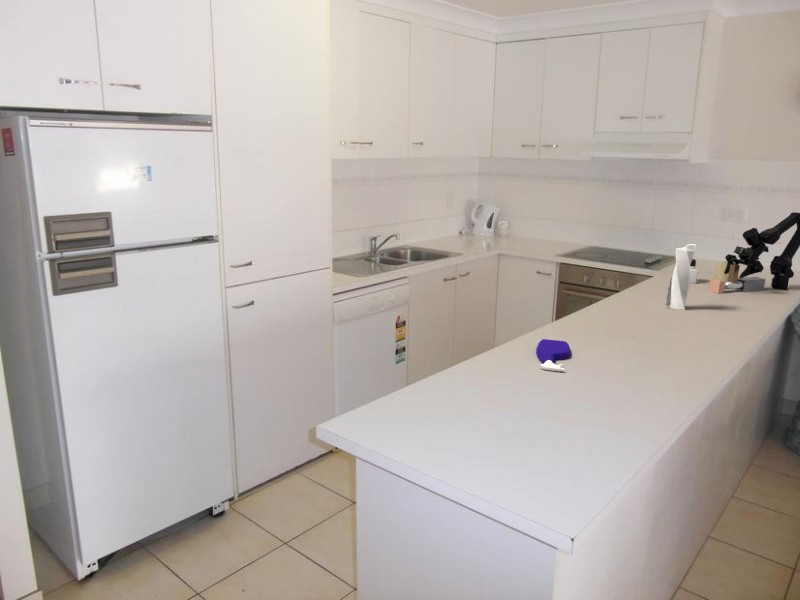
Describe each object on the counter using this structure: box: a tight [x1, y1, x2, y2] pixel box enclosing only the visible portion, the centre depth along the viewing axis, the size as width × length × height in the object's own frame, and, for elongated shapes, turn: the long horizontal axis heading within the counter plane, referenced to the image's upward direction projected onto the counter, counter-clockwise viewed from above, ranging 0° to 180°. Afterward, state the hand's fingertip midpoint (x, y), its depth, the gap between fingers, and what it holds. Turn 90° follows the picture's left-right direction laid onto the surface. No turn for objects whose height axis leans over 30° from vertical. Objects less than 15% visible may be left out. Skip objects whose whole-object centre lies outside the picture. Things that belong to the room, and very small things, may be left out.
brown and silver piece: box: [723, 264, 745, 290], centre depth 299 cm, size 18×4×12 cm, turn 107°
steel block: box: [734, 276, 766, 293], centre depth 302 cm, size 12×6×6 cm, turn 107°
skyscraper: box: [665, 243, 698, 311], centre depth 263 cm, size 8×8×28 cm
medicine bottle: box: [690, 258, 699, 285], centre depth 317 cm, size 7×7×12 cm
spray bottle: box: [535, 338, 571, 373], centre depth 200 cm, size 3×11×24 cm
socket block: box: [708, 278, 725, 295], centre depth 296 cm, size 3×6×6 cm, turn 17°
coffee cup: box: [714, 256, 729, 282], centre depth 320 cm, size 9×9×12 cm
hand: (732, 275), depth 298 cm, fingers open, 9 cm apart
